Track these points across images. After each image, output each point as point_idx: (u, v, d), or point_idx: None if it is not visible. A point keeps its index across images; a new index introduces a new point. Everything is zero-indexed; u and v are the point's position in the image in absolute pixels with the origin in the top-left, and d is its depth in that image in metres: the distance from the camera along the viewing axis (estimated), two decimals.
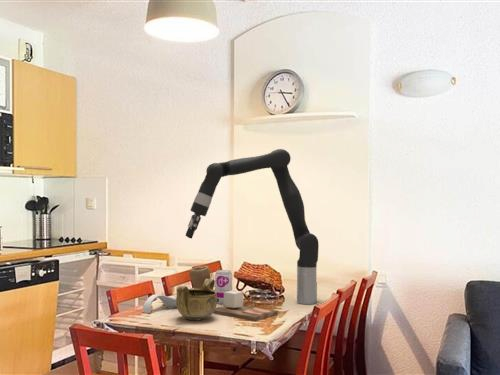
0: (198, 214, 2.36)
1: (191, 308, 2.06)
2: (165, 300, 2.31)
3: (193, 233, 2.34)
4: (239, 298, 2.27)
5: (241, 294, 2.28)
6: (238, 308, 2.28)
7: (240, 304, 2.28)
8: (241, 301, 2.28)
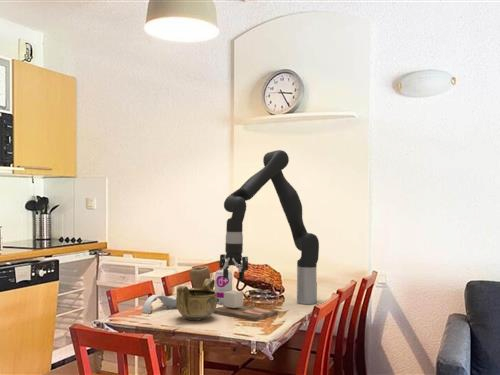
0: (240, 254, 2.27)
1: (191, 308, 2.06)
2: (165, 300, 2.31)
3: None
4: (239, 298, 2.27)
5: (241, 294, 2.28)
6: (238, 308, 2.28)
7: (240, 304, 2.28)
8: (241, 301, 2.28)
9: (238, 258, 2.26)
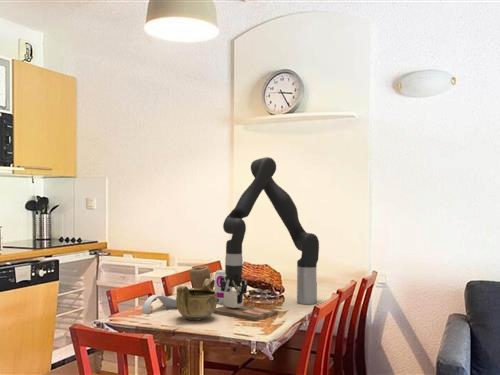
0: (240, 276, 2.26)
1: (191, 308, 2.06)
2: (165, 300, 2.31)
3: None
4: None
5: None
6: (238, 308, 2.28)
7: (240, 304, 2.28)
8: None
9: (238, 280, 2.26)
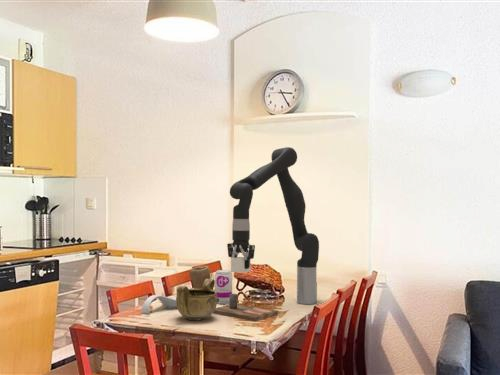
0: (247, 241, 2.25)
1: (191, 308, 2.06)
2: (164, 301, 2.30)
3: None
4: None
5: None
6: (238, 308, 2.28)
7: (247, 269, 2.26)
8: None
9: (245, 245, 2.24)
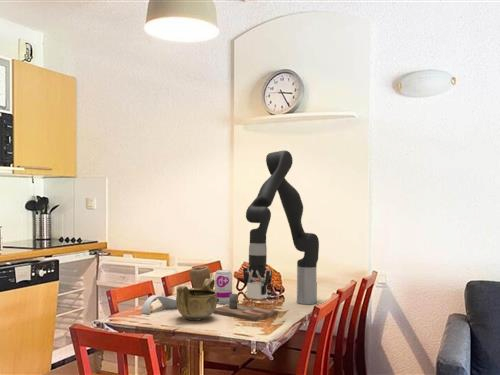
0: (264, 266, 2.19)
1: (191, 308, 2.06)
2: (164, 301, 2.30)
3: None
4: None
5: None
6: (238, 308, 2.28)
7: (264, 295, 2.20)
8: None
9: (262, 271, 2.18)
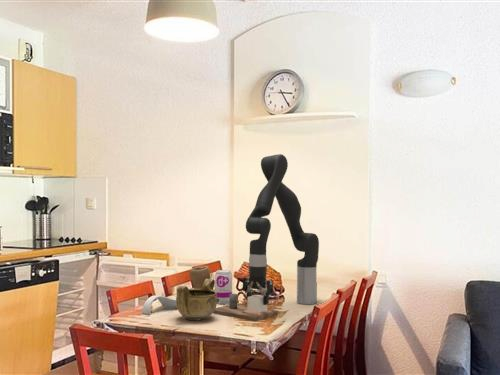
0: (264, 277, 2.19)
1: (191, 308, 2.06)
2: (164, 301, 2.29)
3: None
4: None
5: None
6: (238, 308, 2.28)
7: (264, 309, 2.20)
8: (265, 306, 2.20)
9: (262, 282, 2.18)
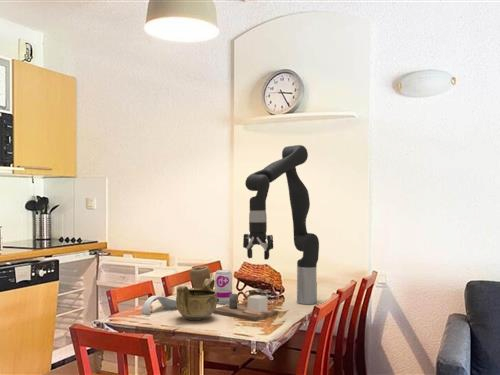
0: (265, 232, 2.23)
1: (191, 308, 2.06)
2: (164, 301, 2.29)
3: None
4: (263, 303, 2.19)
5: (265, 299, 2.20)
6: (238, 308, 2.28)
7: (264, 309, 2.20)
8: (265, 306, 2.20)
9: (263, 237, 2.22)
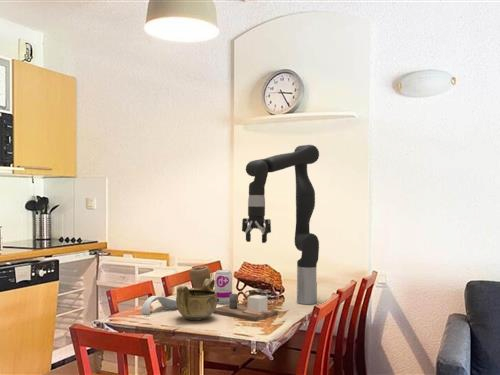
0: (263, 217, 2.30)
1: (191, 308, 2.06)
2: (164, 301, 2.29)
3: None
4: (263, 303, 2.19)
5: (265, 299, 2.20)
6: (238, 308, 2.28)
7: (264, 309, 2.20)
8: (265, 306, 2.20)
9: (261, 221, 2.29)
